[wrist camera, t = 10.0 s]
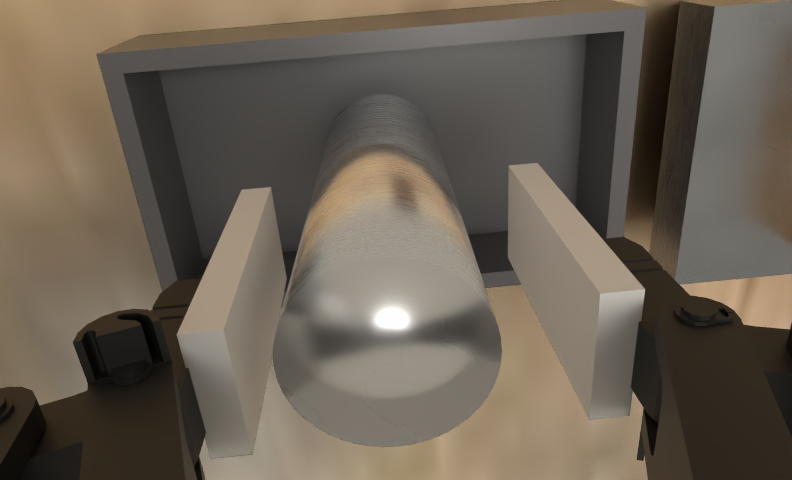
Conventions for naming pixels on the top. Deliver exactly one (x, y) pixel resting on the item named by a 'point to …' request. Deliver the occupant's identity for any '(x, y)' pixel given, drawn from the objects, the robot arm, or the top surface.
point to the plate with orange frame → (727, 144)
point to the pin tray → (368, 75)
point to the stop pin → (385, 289)
